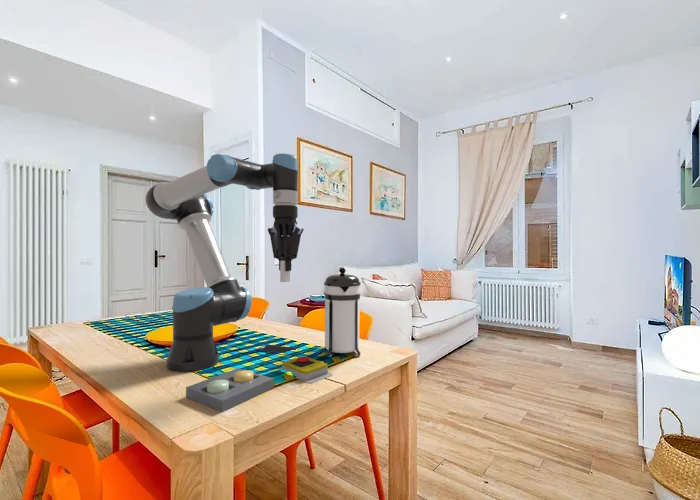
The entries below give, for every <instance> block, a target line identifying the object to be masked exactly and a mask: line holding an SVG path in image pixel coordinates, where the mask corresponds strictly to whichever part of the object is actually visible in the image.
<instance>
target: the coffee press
mask: <svg viewBox="0 0 700 500" xmlns="http://www.w3.org/2000/svg"><path fill="white" fill-rule="evenodd" d="M338 271H339V273H340V274H332V275H329V276H327V277H326V278H325V281H324V282H323V285H324V349H325V348H326V349H327V350H326V349H325V350H326V351H327V353H326V357H327V356H330V354H331V355H333V356H334V354H338V353H339V354H347V353H352V354H353V356H354V357H356V358H358V357H360V356H361V352H360V350H359V346H360V299H361V293H360V287H361V281H360V279H359V277H358V276H355V274H353V275H352V274H346V271H347V270H346V268H345V267H342V266H341V267H340V268H339V269H338Z"/></svg>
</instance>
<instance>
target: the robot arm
mask: <svg viewBox="0 0 700 500" xmlns="http://www.w3.org/2000/svg"><path fill="white" fill-rule="evenodd" d="M298 166H299V165H298V158H297V157H296V156H295V155H294V154H291V153H283V152H282V153H276V154H275V155H273V157H272V162H270V163H266V164H260V163H256V162H252V161H248V160H244V159H241V158H238V157H233V156H230V155H229V154H220V153H215V154H212V155H211V156H210V158H209V159H208V160H207V163H206V165H204V166H203V167H200V168H198V169H196V170H194V171H192V172H189V173H187V174H184V175H183V176H181V177H178V178H176V179H174V180H171V181H169V182H168V181H161V182H159V183H157V184H155V185H153V186H151V187H150V188H149V189H148V190H147V192H146V194H145V203H146V206H147V208H148V211H150V212H151V213H152V214H153V215H155V216H156V217H158V218H159V219H165V220H176V222H177V223H178V226H179V228H180V229H181V230H183V231H185V232H186V235H187V237H188V241H189V242H190V245H191V248H192V251H193V253H194V256H195V259H196V261H197V263H198V266H199V269H200V272H201V275H202V276H203V279H204V282H205V284H206V287H195V288H194V287H193V288H188V289H184V290H181V291H179V292H177V293H175V295H174V297H173V299H172V300H173V301H172V307H171V310H172V344H171V346H170V349H169V353H168V356H167V358H166V368H167V369H168V370H170V371H174V372H193V371H194V372H195V371H200V370H205V369H207V368H208V369H209V368H210V367H213V366H215V365H216V364H218V363H219V361H220V360H219V359H220V355H219V354H220V353H219V350H218V348H217V344H216V342H215V339H214V327H215V326H220V325H221V326H222V325H225V324H228V323H229V324H230V323H236V322H237V321H240V320H241V321H242V320H244V319H245V318H246V317H247V316H248V315H249V314H250V312H251V307H252V303H253V299H252V294H251V292H250V290H249V289H248V288H246V287H244V286H240V284H239V282H238V279H237V278H234V277H232V276H231V274H230V272H229V268H228V266H227V264H226V261H225V259H224V257H223V254H222V252H221V249H220V247H219V245H218V241H217V240H216V238H215V234H214V232H213V230H212V227H211V225H210V223H211V221H212V217H213V214H214V210H213V209H214V205H213V201H212V199H211V197H210V196H209V195H208V194H209V193H210V192H211V193H212V192H213V191H215V190H219V189H220V188H221V189H222V188H224V187H227V186H229V185H239V186H243V187H246V188H247V189H249V190H257V191H258V190H259V191H260V190H263V189H264V190H265V189H272V204H274V205H273V206H272V218H274V222H273V226H271V227H268V228H267V232H268V235H269V237H270V242H271V248H272V249H271V250H272V254H273V258H274V259H277V260H278V270H279V271H280V272H279V275H280V276H279V280H280V283H287V282H290V281H291V271H292V261H293V260H294V259H297V258H298V252H299V247H300V243H301V236H302V234H303V232H304V231H305V230H304V228H303V227H300V226H299V225H298V222H297V219H298V213H299V212H298V210H299V209H298V207H297V205H298V203H299V202H298V197H299V196H298V195H299V193H298V180H299V179H298V178H299V174H298V173H299V169H298V168H299V167H298Z"/></svg>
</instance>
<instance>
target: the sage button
mask: <svg viewBox="0 0 700 500" xmlns="http://www.w3.org/2000/svg"><path fill="white" fill-rule="evenodd" d="M227 390H229V382H228V381H227V380H215V381H211V382H209V383H208V384H207V392H208V393H211V394H213V395H217V394H219V393H222V392H224V391H227Z"/></svg>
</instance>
